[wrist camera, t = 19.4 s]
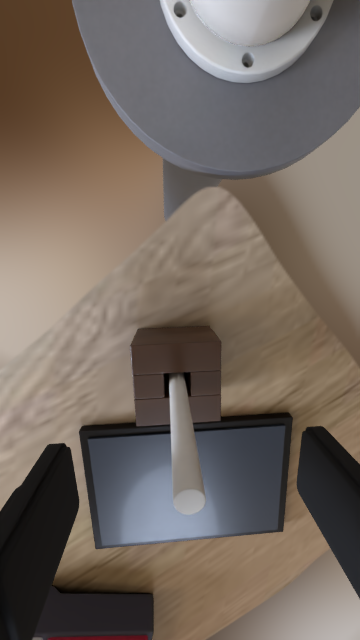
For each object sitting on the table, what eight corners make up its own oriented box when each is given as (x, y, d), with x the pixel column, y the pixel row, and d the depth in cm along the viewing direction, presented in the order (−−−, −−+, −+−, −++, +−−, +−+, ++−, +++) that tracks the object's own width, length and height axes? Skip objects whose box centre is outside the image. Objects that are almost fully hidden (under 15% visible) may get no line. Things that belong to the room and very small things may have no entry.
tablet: (81, 425, 22) (77, 433, 21) (288, 412, 23) (294, 418, 22) (97, 540, 25) (94, 551, 24) (279, 524, 26) (284, 534, 25)
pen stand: (137, 328, 20) (129, 345, 16) (209, 325, 21) (221, 341, 16) (142, 394, 22) (136, 426, 17) (209, 390, 22) (220, 421, 18)
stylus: (167, 357, 21) (170, 491, 8) (180, 354, 21) (203, 485, 8) (169, 369, 21) (176, 518, 9) (182, 367, 21) (208, 511, 9)
